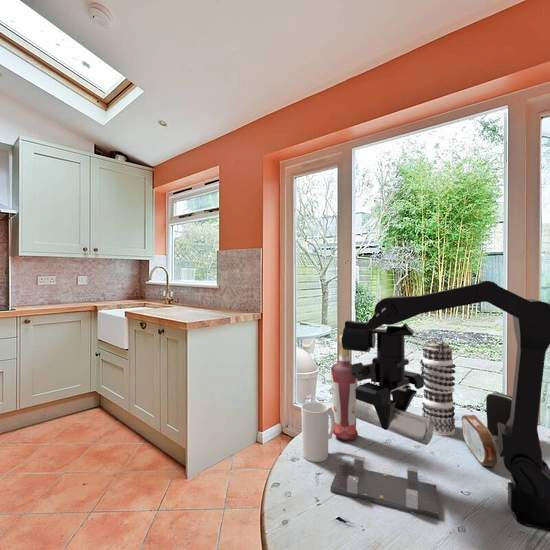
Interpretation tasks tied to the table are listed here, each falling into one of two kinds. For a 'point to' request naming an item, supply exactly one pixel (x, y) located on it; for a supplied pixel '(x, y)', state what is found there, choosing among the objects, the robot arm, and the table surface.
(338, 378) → the liquor
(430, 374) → the decorative candle
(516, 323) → the robot arm
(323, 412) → the mug
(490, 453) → the tin
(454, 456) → the table surface
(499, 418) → the battery charger
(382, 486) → the cradle
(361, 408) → the tube
